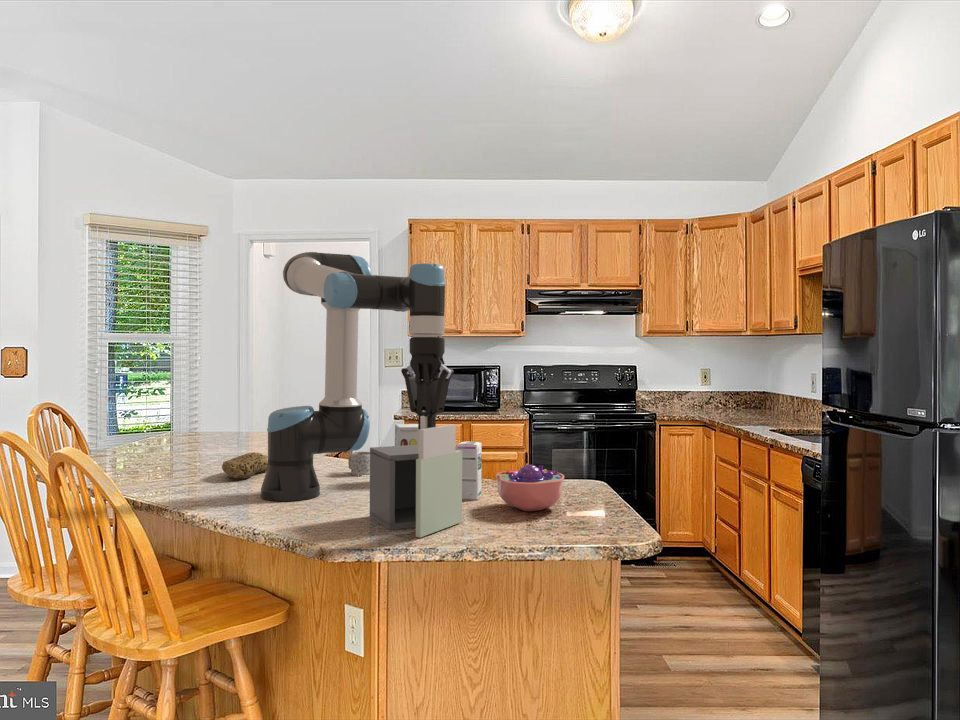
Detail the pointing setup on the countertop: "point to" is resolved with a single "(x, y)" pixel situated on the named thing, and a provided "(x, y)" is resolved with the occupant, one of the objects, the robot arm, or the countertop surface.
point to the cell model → (530, 487)
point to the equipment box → (393, 485)
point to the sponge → (245, 465)
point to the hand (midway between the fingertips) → (426, 446)
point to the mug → (359, 463)
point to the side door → (438, 480)
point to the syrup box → (471, 469)
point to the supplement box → (406, 434)
